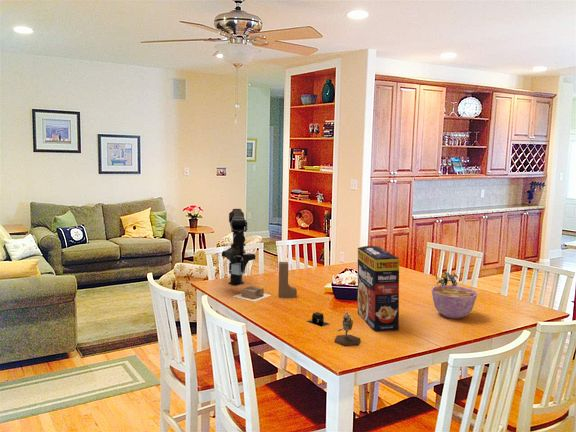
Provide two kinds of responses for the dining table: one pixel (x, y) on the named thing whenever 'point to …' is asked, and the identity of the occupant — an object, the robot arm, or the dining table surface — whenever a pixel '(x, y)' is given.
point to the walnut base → (252, 292)
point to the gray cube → (236, 269)
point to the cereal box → (378, 288)
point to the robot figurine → (346, 339)
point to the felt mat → (251, 299)
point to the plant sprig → (448, 279)
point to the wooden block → (285, 283)
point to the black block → (318, 319)
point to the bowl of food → (453, 300)
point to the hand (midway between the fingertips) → (238, 271)
